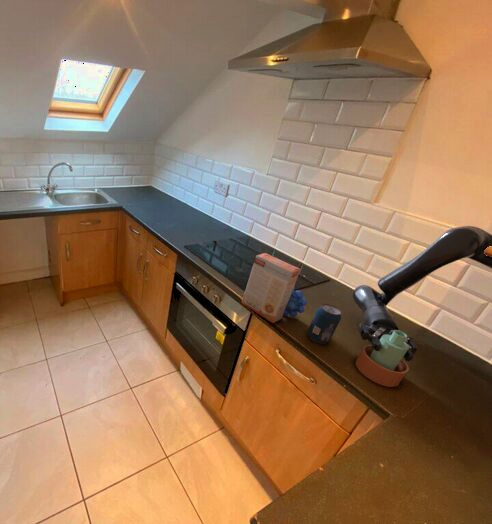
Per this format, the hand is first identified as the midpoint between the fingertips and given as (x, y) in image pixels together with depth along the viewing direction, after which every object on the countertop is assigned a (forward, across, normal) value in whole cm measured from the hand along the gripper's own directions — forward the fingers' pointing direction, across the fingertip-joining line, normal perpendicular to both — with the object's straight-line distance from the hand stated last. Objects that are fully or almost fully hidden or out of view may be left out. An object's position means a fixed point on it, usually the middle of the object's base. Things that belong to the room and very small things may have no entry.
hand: (393, 353), depth 83 cm
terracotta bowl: (-2, 0, +9) cm, 9 cm away
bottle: (-2, 0, +8) cm, 9 cm away
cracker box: (-15, -35, +9) cm, 39 cm away
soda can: (-10, -16, +9) cm, 21 cm away
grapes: (-16, -26, +9) cm, 32 cm away
